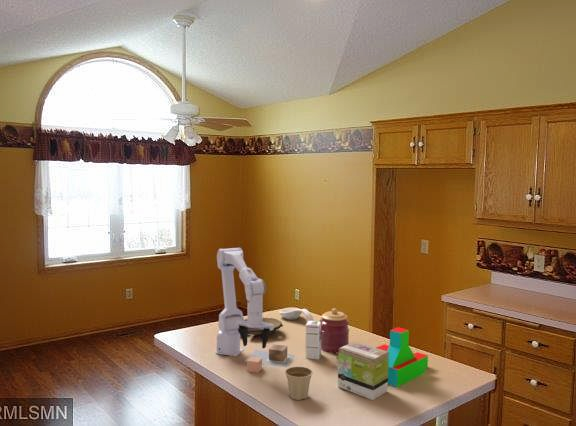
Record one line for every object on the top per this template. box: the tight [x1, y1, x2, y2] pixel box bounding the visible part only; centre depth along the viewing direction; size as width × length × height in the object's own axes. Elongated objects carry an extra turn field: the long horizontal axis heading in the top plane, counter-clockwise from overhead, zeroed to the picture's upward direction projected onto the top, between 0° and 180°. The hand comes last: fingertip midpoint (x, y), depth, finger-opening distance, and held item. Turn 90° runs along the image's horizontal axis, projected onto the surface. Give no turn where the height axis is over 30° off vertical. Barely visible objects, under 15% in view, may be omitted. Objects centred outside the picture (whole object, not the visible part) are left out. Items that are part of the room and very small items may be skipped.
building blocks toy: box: [375, 326, 429, 388], centre depth 192 cm, size 19×25×18 cm
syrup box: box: [305, 320, 322, 360], centre depth 205 cm, size 6×6×14 cm
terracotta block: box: [246, 357, 263, 373], centre depth 191 cm, size 4×4×4 cm
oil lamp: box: [226, 315, 284, 336], centre depth 237 cm, size 22×30×8 cm
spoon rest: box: [278, 308, 315, 323], centre depth 257 cm, size 24×12×7 cm, turn 36°
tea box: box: [337, 341, 389, 401], centre depth 174 cm, size 15×10×15 cm, turn 48°
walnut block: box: [268, 344, 288, 362], centre depth 202 cm, size 6×6×4 cm
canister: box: [319, 307, 350, 354], centre depth 216 cm, size 13×13×18 cm
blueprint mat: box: [243, 349, 297, 368], centre depth 203 cm, size 18×14×1 cm
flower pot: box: [284, 366, 314, 401], centre depth 169 cm, size 9×9×9 cm
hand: (254, 346), depth 190 cm, fingers open, 7 cm apart
